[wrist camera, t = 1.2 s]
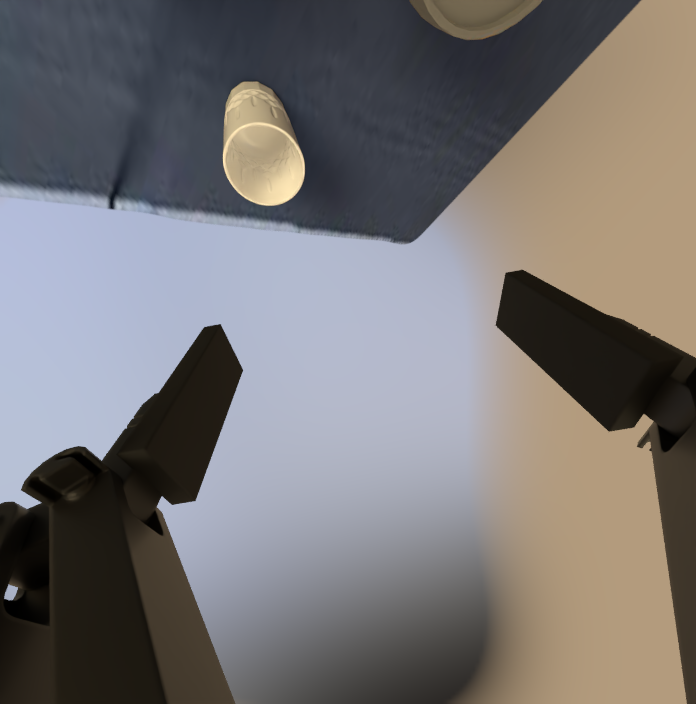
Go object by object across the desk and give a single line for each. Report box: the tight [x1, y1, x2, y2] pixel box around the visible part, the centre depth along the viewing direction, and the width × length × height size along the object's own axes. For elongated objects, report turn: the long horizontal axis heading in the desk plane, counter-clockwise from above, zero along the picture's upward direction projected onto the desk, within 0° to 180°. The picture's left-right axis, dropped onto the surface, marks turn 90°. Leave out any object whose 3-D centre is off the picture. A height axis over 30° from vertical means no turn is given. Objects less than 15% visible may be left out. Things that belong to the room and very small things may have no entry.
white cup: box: [223, 82, 305, 206], centre depth 30 cm, size 8×8×10 cm
